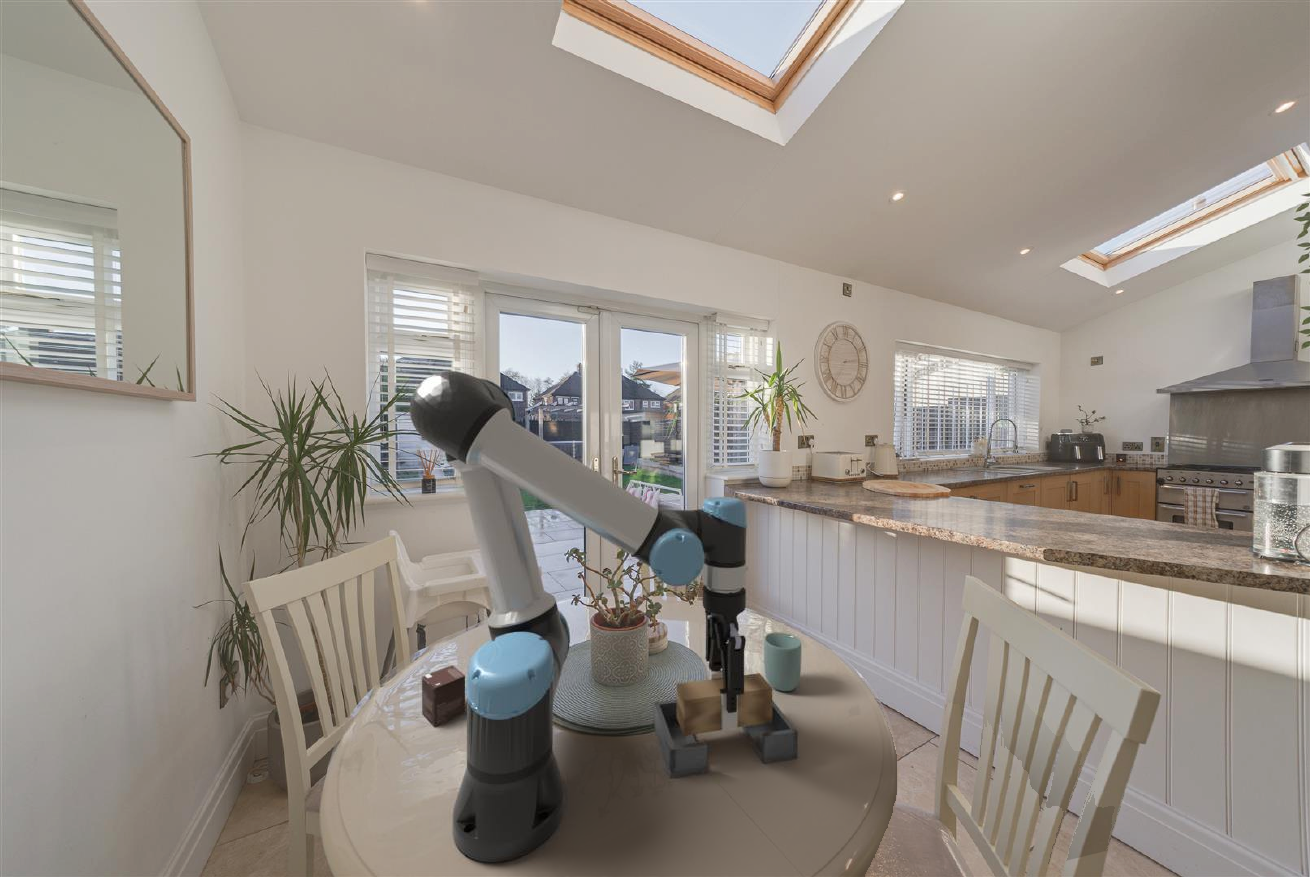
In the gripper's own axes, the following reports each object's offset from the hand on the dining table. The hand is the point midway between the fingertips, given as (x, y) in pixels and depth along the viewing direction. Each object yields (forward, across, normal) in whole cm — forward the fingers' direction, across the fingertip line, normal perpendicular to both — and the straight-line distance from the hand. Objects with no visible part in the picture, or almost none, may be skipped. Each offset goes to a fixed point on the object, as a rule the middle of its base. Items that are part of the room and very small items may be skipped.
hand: (723, 716), depth 79 cm
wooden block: (+1, 0, 0) cm, 1 cm away
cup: (+5, +14, -19) cm, 24 cm away
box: (+4, +18, +50) cm, 54 cm away
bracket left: (+4, 0, +8) cm, 9 cm away
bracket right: (+5, 0, -8) cm, 9 cm away
